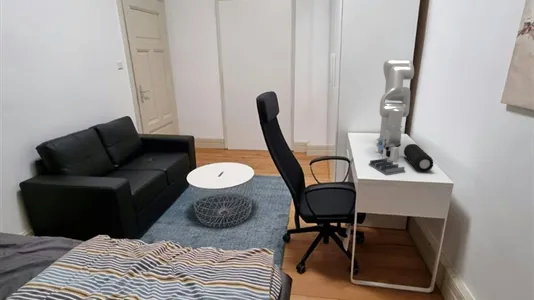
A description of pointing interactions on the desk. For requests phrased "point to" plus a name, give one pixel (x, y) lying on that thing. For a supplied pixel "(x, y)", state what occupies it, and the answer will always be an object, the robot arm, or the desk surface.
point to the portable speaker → (418, 157)
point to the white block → (392, 153)
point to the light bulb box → (380, 145)
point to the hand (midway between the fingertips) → (390, 155)
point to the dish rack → (386, 166)
